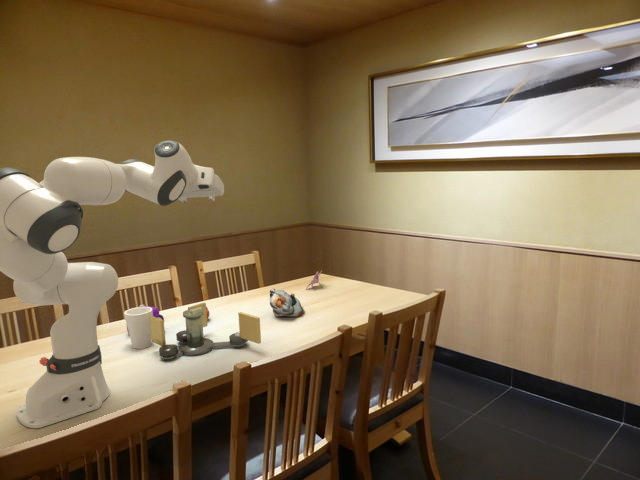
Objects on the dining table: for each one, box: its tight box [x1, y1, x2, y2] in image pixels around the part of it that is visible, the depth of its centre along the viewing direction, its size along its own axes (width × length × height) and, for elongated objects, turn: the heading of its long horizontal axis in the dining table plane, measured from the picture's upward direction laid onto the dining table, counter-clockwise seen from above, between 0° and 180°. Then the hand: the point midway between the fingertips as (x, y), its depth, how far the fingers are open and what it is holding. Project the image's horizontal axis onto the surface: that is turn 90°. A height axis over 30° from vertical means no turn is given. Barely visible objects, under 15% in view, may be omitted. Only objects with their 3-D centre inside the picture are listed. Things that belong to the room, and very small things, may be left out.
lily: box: [305, 270, 324, 290], centre depth 231 cm, size 12×12×10 cm
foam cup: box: [123, 306, 153, 350], centre depth 164 cm, size 10×9×13 cm
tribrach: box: [149, 302, 246, 362], centre depth 159 cm, size 26×23×15 cm
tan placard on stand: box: [228, 311, 262, 345], centre depth 159 cm, size 6×14×11 cm, turn 50°
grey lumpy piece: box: [269, 288, 305, 318], centre depth 192 cm, size 15×12×14 cm
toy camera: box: [125, 304, 165, 334], centre depth 177 cm, size 11×14×10 cm
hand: (198, 200), depth 155 cm, fingers open, 8 cm apart
